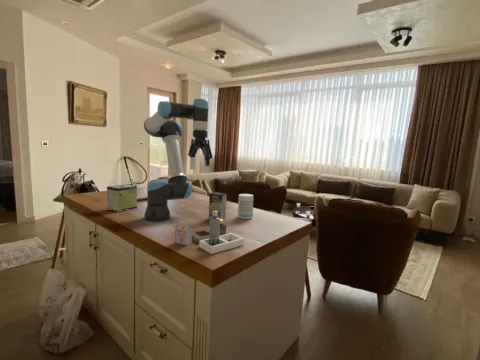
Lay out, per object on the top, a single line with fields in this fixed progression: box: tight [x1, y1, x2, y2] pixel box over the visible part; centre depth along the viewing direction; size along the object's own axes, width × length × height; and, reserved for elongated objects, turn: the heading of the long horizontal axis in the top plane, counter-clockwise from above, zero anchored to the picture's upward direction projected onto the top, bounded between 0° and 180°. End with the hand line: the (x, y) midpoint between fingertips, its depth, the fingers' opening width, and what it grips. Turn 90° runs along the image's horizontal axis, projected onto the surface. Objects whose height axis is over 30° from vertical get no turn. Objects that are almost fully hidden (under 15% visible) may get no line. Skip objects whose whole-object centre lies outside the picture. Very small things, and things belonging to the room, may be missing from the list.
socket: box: [192, 223, 227, 244], centre depth 135 cm, size 12×18×5 cm, turn 130°
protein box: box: [106, 183, 138, 211], centre depth 177 cm, size 10×16×16 cm
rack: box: [198, 232, 245, 255], centre depth 123 cm, size 10×18×3 cm, turn 130°
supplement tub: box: [237, 193, 254, 220], centre depth 171 cm, size 10×10×15 cm
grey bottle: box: [208, 211, 220, 246], centre depth 119 cm, size 4×4×17 cm
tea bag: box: [174, 220, 193, 247], centre depth 124 cm, size 4×7×10 cm, turn 65°
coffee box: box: [208, 191, 228, 220], centre depth 165 cm, size 9×6×16 cm
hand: (199, 170), depth 141 cm, fingers open, 13 cm apart
